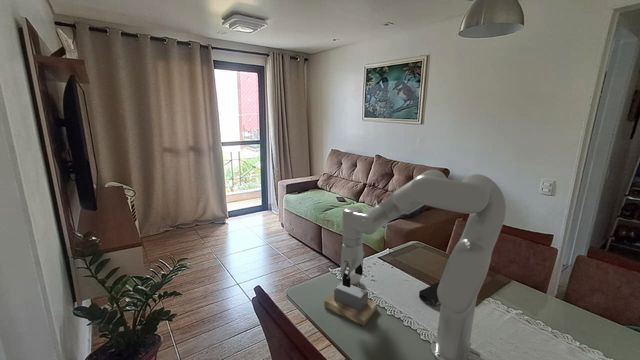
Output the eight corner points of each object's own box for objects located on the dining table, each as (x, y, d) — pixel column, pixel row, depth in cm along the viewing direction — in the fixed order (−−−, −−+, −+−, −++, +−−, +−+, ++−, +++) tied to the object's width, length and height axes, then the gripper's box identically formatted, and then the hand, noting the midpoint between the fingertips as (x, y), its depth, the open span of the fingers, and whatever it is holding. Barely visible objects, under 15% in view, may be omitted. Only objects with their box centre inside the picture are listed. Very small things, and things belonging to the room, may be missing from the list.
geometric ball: (356, 288, 134) (365, 280, 129) (341, 285, 131) (349, 277, 126) (355, 273, 139) (363, 265, 134) (340, 269, 137) (348, 261, 132)
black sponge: (433, 309, 116) (434, 301, 115) (416, 298, 123) (417, 290, 122) (457, 295, 125) (458, 288, 124) (440, 285, 132) (441, 278, 131)
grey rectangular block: (341, 292, 122) (341, 280, 120) (367, 303, 115) (368, 290, 113) (334, 300, 117) (334, 287, 115) (360, 311, 110) (361, 298, 109)
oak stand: (376, 309, 116) (377, 302, 115) (364, 325, 107) (364, 318, 106) (338, 293, 126) (338, 287, 125) (324, 307, 117) (324, 300, 117)
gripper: (355, 229, 118) (354, 267, 122) (331, 245, 104) (332, 287, 108) (371, 233, 114) (371, 272, 118) (350, 251, 100) (350, 294, 104)
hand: (352, 279), depth 113 cm, fingers open, 9 cm apart
